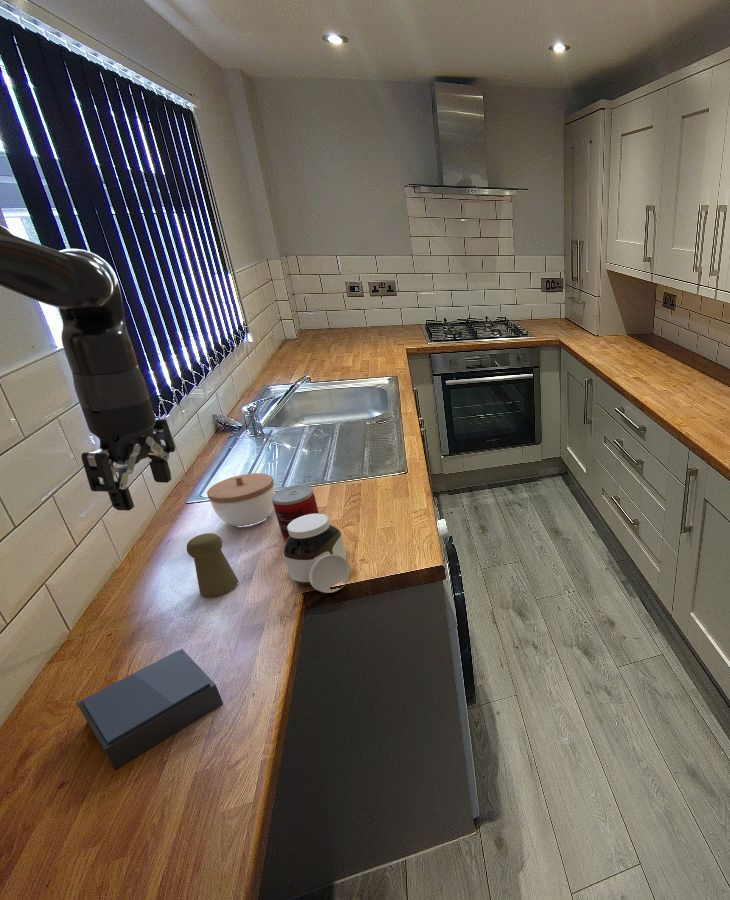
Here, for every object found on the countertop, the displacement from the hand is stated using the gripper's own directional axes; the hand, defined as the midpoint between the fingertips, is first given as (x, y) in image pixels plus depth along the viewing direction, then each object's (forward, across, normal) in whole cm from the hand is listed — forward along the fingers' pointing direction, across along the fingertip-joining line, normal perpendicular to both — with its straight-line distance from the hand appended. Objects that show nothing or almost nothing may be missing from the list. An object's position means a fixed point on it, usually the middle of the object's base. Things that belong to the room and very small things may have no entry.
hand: (145, 494), depth 82 cm
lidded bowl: (+26, -32, -4) cm, 41 cm away
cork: (+24, -6, +3) cm, 25 cm away
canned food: (+24, -22, +12) cm, 35 cm away
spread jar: (+22, -7, +22) cm, 32 cm away
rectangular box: (+21, +22, +11) cm, 33 cm away
